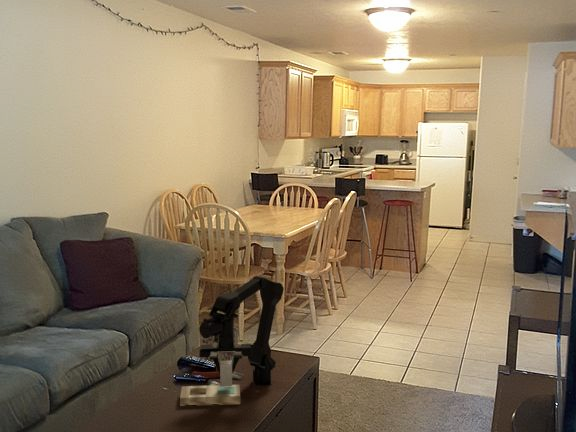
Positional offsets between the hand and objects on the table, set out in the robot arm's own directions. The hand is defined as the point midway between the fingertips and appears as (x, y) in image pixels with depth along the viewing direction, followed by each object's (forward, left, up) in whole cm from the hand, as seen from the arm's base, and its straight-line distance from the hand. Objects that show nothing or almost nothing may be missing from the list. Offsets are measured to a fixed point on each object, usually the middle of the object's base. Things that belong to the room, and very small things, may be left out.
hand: (226, 373), depth 221 cm
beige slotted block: (+5, 0, -10) cm, 11 cm away
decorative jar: (+3, -38, -10) cm, 39 cm away
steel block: (0, 0, -4) cm, 4 cm away
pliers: (+4, -21, -10) cm, 24 cm away
